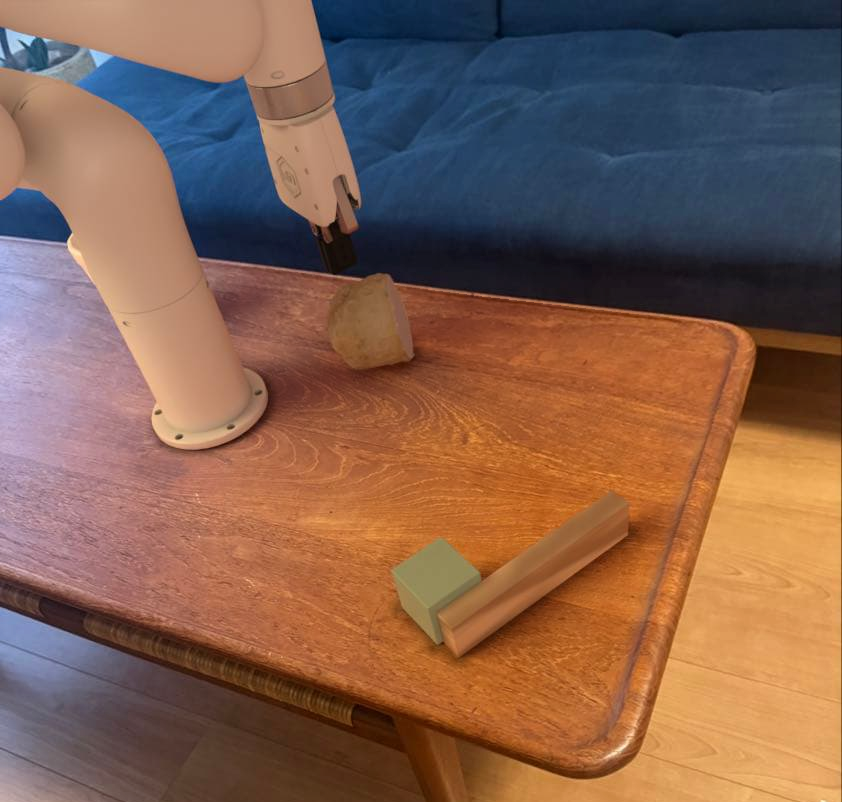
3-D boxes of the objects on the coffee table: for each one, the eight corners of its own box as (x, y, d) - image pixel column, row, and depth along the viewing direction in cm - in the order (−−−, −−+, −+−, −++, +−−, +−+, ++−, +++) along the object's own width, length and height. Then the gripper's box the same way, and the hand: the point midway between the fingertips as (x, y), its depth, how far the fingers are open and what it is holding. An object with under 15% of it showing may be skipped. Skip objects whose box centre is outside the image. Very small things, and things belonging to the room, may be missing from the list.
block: (401, 607, 67) (390, 569, 63) (449, 574, 69) (441, 535, 65) (437, 645, 64) (427, 608, 60) (487, 610, 66) (480, 572, 62)
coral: (433, 322, 80) (332, 301, 78) (408, 395, 88) (316, 377, 86) (433, 263, 86) (339, 241, 84) (410, 336, 94) (323, 318, 92)
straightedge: (443, 641, 64) (435, 612, 61) (611, 522, 69) (611, 489, 66) (458, 658, 63) (451, 629, 60) (628, 535, 68) (629, 502, 65)
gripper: (220, 88, 78) (279, 258, 92) (297, 128, 69) (349, 310, 83) (286, 58, 80) (334, 229, 94) (368, 93, 71) (408, 276, 85)
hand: (341, 266), depth 89 cm, fingers closed
